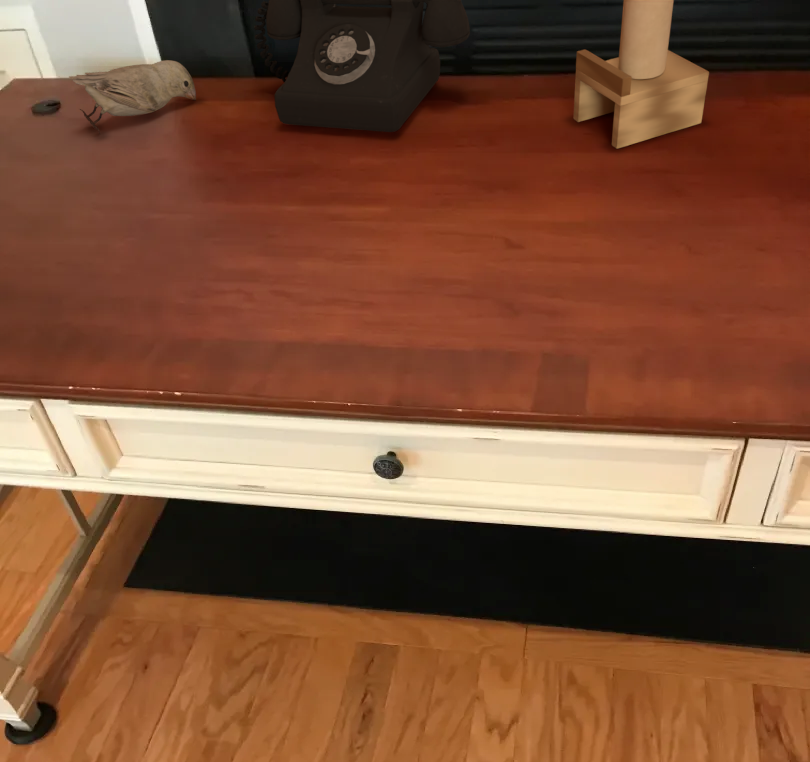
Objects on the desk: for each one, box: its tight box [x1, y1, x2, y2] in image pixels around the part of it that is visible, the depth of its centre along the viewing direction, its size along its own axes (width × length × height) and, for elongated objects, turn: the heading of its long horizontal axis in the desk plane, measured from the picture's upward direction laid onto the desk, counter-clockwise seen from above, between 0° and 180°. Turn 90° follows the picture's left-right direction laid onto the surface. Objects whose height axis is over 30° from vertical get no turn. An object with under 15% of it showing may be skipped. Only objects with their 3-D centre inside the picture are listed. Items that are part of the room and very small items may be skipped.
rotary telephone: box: [253, 0, 471, 133], centre depth 116 cm, size 30×17×15 cm, turn 70°
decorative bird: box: [68, 59, 197, 135], centre depth 123 cm, size 5×16×8 cm, turn 119°
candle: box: [618, 0, 675, 79], centre depth 103 cm, size 6×6×10 cm
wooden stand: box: [572, 49, 710, 149], centre depth 109 cm, size 12×10×8 cm
